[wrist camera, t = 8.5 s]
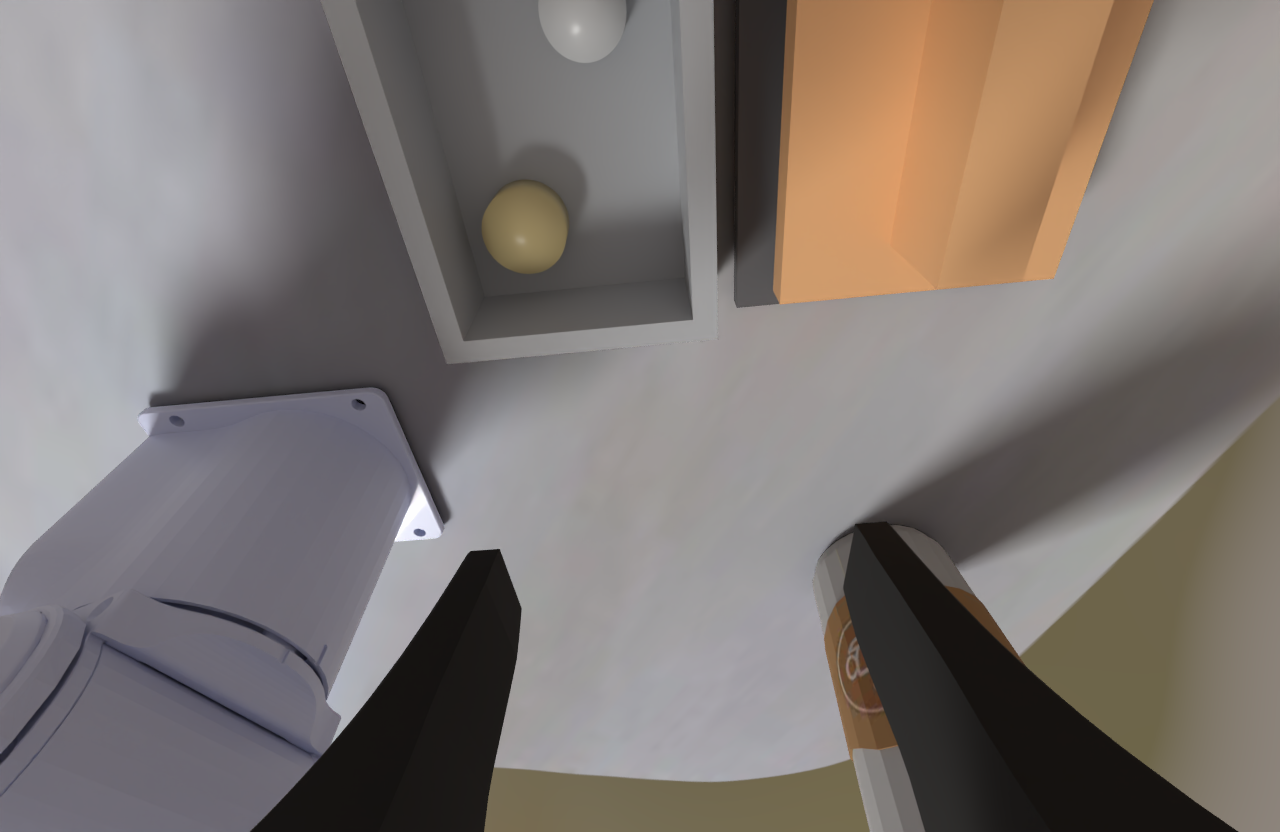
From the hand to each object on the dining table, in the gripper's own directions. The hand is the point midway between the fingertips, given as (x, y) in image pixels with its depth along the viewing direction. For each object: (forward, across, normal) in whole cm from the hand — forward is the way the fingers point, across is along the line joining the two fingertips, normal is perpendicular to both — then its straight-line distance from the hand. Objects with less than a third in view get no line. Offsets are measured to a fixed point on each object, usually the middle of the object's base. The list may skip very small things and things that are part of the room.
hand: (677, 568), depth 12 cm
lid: (+10, -8, -7) cm, 14 cm away
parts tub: (+10, +2, -7) cm, 13 cm away
